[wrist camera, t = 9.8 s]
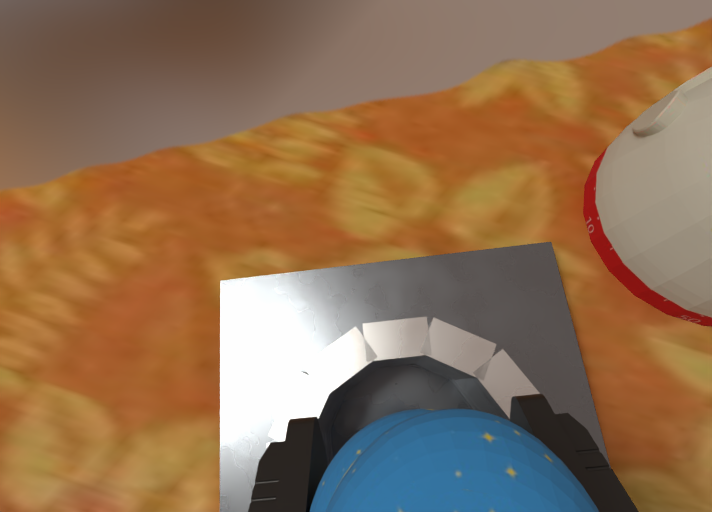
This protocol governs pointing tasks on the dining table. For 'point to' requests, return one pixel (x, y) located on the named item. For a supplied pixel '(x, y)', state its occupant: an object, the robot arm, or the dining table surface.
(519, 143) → the dining table surface
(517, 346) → the tube on square plate
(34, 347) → the dining table surface
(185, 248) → the dining table surface
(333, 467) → the ornament
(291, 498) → the robot arm
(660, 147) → the kitchen timer
